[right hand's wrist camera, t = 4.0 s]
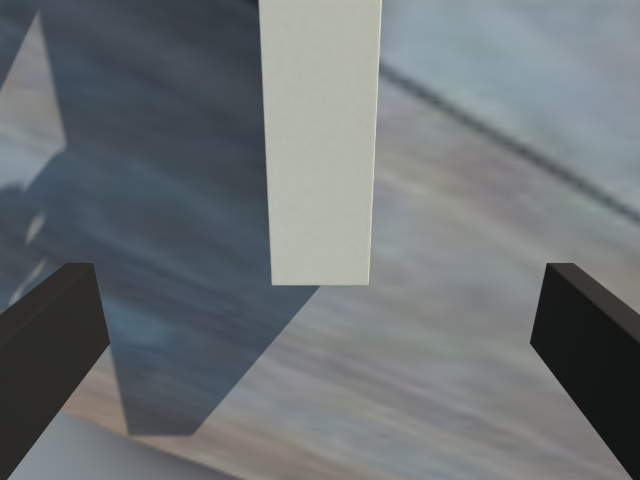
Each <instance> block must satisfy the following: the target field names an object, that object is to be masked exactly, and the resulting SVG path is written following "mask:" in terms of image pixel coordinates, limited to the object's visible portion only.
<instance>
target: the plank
mask: <svg viewBox="0 0 640 480" xmlns="http://www.w3.org/2000/svg"><path fill="white" fill-rule="evenodd" d="M381 3H382V0H258V4H259V25H260V47H261V68H262V90H263V111H264V133H265V154H266V176H267V197H268V219H269V240H270V262H271V284H272V285H368V283H369V262H370V240H371V219H372V197H373V176H374V154H375V133H376V111H377V90H378V68H379V47H380V25H381Z"/></svg>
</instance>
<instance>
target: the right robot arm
mask: <svg viewBox="0 0 640 480" xmlns="http://www.w3.org/2000/svg"><path fill="white" fill-rule="evenodd" d="M109 344H110V340H109V335H108V331H107V326H106V321H105V317H104V312H103V307H102V303H101V298H100V293H99V289H98V284H97V279H96V275H95V270H94V265H93V263H66V264H65V265H63V266H62V267H61V268H60V269H58V270H57V271H56V272H55V273H53V274H52V275H51V276H49V277H48V278H47V279H46V280H44V281H43V282H42V283H40V284H39V285H38V286H37V287H35V288H34V289H33V290H31V291H30V292H29V293H28V294H26V295H25V296H24V297H22V298H21V299H20V300H19V301H17V302H16V303H15V304H14V305H12V306H11V307H10V308H8V309H7V310H6V311H5V312H3V313H2V314H1V315H0V480H7V479H8V478H9V476H10V475H11V474H12V472H13V471H14V470H15V469H16V467H17V466H18V464H19V463H20V462H21V461H22V459H23V458H24V457H25V455H26V454H27V453H28V451H29V450H30V449H31V447H32V446H33V445H34V443H35V442H36V441H37V439H38V438H39V437H40V435H41V434H42V433H43V431H44V430H45V429H46V427H47V426H48V425H49V423H50V422H51V421H52V420H53V418H54V417H55V416H56V414H57V413H58V412H59V410H60V409H61V408H62V406H63V405H64V404H65V402H66V401H67V400H68V398H69V397H70V396H71V394H72V393H73V392H74V390H75V389H76V388H77V386H78V385H79V384H80V382H81V381H82V380H83V378H84V377H85V376H86V374H87V373H88V372H89V371H90V369H91V368H92V367H93V365H94V364H95V363H96V361H97V360H98V359H99V357H100V356H101V355H102V353H103V352H104V351H105V349H106V348H107V347H108V345H109ZM530 344H531V345H532V347H533V348H534V349H535V351H536V352H537V353H538V355H539V356H540V357H541V359H542V360H543V361H544V363H545V364H546V365H547V367H548V368H549V369H550V371H551V372H552V373H553V374H554V376H555V377H556V378H557V380H558V381H559V382H560V384H561V385H562V386H563V388H564V389H565V390H566V392H567V393H568V394H569V396H570V397H571V398H572V400H573V401H574V402H575V404H576V405H577V406H578V408H579V409H580V410H581V412H582V413H583V414H584V416H585V417H586V418H587V420H588V421H589V422H590V423H591V425H592V426H593V427H594V429H595V430H596V431H597V433H598V434H599V435H600V437H601V438H602V439H603V441H604V442H605V443H606V445H607V446H608V447H609V449H610V450H611V451H612V453H613V454H614V455H615V457H616V458H617V459H618V461H619V462H620V463H621V465H622V466H623V467H624V469H625V470H626V471H627V472H628V474H629V475H630V476H631V478H632V479H633V480H640V315H639V314H638V313H637V312H635V311H634V310H633V309H632V308H630V307H629V306H628V305H626V304H625V303H624V302H623V301H621V300H620V299H619V298H618V297H616V296H615V295H614V294H612V293H611V292H610V291H609V290H607V289H606V288H605V287H603V286H602V285H601V284H600V283H598V282H597V281H596V280H594V279H593V278H592V277H591V276H589V275H588V274H587V273H585V272H584V271H583V270H582V269H580V268H579V267H578V266H577V265H575V264H574V263H547V265H546V270H545V274H544V279H543V284H542V289H541V293H540V298H539V303H538V307H537V312H536V317H535V321H534V326H533V331H532V335H531V340H530Z"/></svg>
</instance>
